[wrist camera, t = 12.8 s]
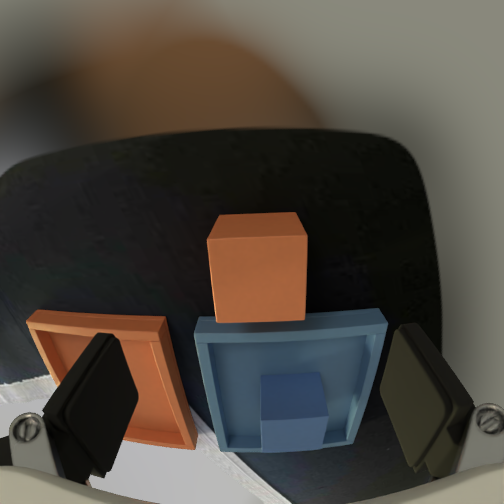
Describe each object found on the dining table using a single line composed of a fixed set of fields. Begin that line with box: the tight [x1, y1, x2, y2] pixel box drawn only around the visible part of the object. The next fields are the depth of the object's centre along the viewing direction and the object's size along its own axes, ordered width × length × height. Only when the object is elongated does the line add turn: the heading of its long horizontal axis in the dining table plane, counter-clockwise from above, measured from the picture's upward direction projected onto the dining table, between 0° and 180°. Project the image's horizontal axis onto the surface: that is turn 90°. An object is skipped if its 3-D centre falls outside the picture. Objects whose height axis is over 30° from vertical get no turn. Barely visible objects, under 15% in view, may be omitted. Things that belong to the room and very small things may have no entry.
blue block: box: [260, 372, 329, 453], centre depth 20 cm, size 4×4×4 cm
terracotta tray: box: [26, 309, 198, 450], centre depth 22 cm, size 15×13×2 cm
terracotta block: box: [207, 212, 308, 323], centre depth 16 cm, size 4×4×4 cm
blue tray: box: [194, 308, 388, 452], centre depth 22 cm, size 15×13×2 cm
